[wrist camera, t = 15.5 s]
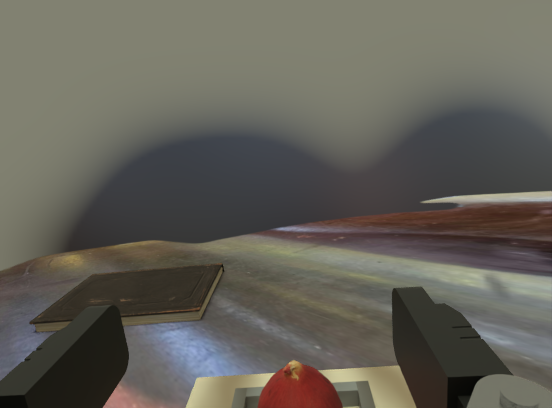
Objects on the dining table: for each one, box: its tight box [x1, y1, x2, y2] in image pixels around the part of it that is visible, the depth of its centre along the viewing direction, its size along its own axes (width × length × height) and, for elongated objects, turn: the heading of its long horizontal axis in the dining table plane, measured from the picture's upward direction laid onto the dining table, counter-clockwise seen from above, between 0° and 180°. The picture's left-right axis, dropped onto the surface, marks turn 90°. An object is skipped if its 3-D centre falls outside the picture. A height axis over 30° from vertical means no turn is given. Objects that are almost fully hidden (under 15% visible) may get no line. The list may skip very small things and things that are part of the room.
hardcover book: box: [29, 263, 224, 332], centre depth 55 cm, size 16×23×2 cm
